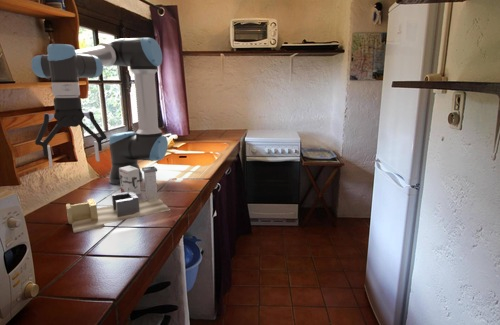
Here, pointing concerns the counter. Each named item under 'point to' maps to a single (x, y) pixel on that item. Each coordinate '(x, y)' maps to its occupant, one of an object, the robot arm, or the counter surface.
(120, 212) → the dark grey hollow housing
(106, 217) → the mounting board
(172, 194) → the counter surface
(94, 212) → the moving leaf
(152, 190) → the grey long block
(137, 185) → the ink box
